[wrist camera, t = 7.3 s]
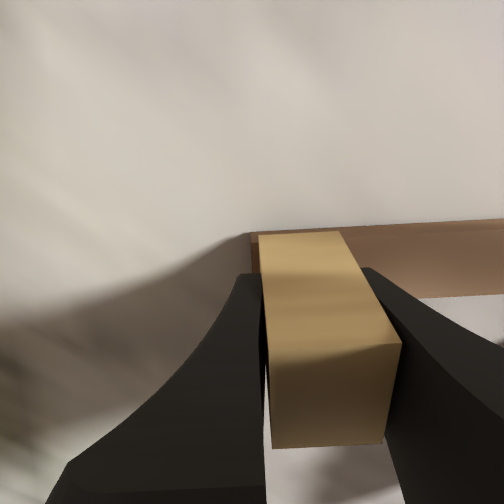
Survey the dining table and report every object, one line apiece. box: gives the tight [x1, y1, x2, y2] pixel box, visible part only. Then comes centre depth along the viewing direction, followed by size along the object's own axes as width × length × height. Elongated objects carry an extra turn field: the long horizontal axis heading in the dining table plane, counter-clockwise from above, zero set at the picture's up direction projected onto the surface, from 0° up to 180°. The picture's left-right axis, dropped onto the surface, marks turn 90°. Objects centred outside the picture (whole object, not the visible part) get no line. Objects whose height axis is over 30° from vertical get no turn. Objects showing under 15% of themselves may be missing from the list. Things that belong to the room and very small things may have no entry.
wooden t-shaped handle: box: [250, 219, 504, 449], centre depth 12 cm, size 12×15×6 cm
